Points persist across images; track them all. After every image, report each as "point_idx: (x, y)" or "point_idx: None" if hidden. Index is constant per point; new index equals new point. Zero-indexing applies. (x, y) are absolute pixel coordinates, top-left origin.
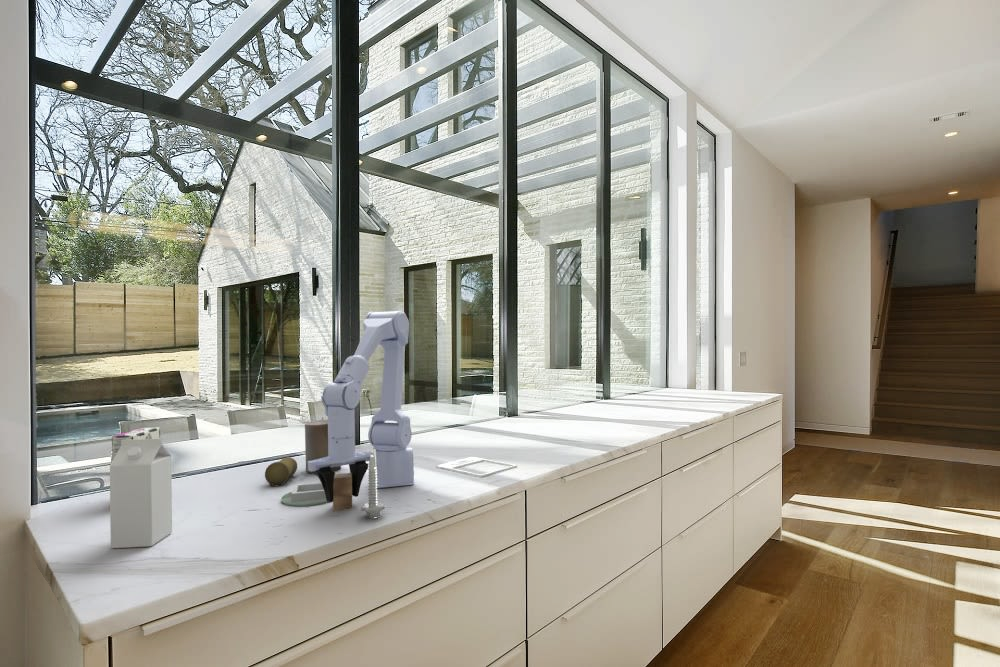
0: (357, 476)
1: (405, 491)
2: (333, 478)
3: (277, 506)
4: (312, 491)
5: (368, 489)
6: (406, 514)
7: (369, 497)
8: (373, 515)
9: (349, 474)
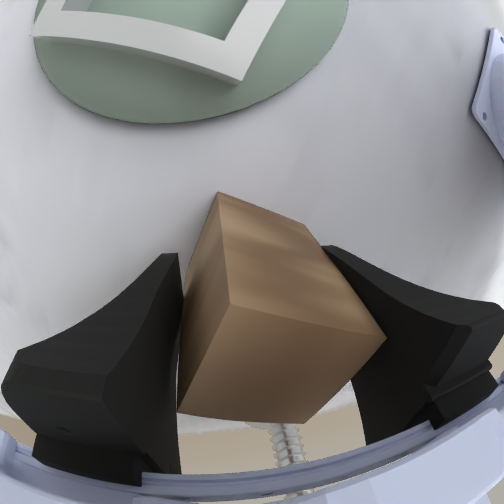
0: (356, 388)
1: (484, 224)
2: (174, 436)
3: (14, 49)
4: (136, 38)
5: (276, 462)
6: (340, 396)
7: (273, 439)
8: None
9: (334, 383)
